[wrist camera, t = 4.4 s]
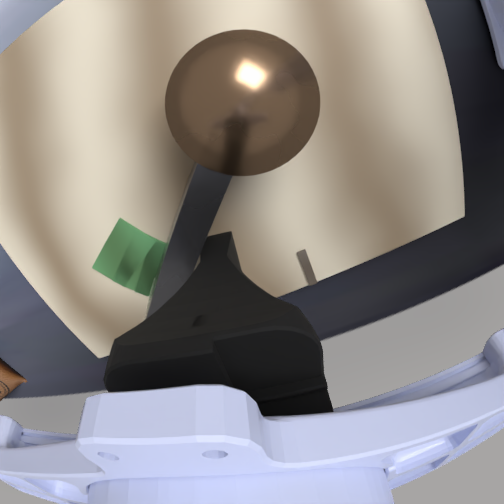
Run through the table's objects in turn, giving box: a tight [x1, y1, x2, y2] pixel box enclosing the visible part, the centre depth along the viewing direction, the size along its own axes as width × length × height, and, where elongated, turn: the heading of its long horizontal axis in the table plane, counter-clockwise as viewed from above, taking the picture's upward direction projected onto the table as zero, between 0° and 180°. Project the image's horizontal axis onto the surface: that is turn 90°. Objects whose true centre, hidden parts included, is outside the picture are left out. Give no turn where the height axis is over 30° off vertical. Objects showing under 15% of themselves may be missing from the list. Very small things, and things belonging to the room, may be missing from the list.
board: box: [0, 0, 465, 358], centre depth 11 cm, size 22×16×1 cm
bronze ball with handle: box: [143, 29, 320, 321], centre depth 10 cm, size 11×4×3 cm, turn 156°
